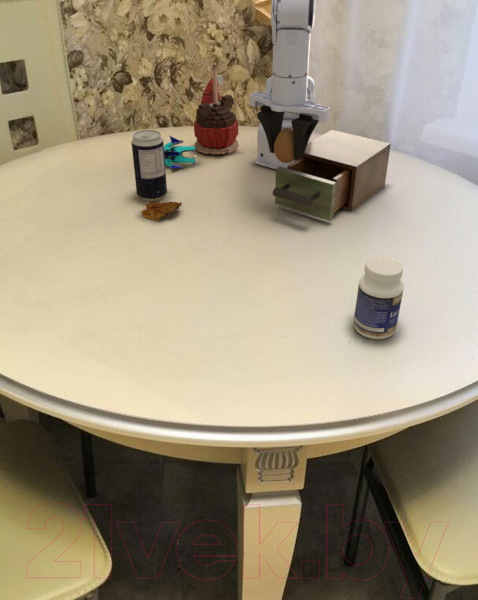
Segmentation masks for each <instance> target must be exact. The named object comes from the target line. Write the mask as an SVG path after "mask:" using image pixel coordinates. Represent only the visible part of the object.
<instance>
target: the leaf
mask: <svg viewBox="0 0 478 600" xmlns="http://www.w3.org/2000/svg"><path fill="white" fill-rule="evenodd" d="M182 204H183V202H182V201H181V202H176V201H167V202H165V201H164V202H163V201H162V202H161V201H157V202H156V201H147V203H146V204H145V207H144V206H142V208H144V209H142V211H141V214H142V217H144V218H145V219H149V220H150V221H156V222H159V221H160V220H161V219H162V217H167V216H169V214H171V213H172V212H174V211H176V210H177V211H178V210H179V208H180V207H181V206H182Z"/></svg>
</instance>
